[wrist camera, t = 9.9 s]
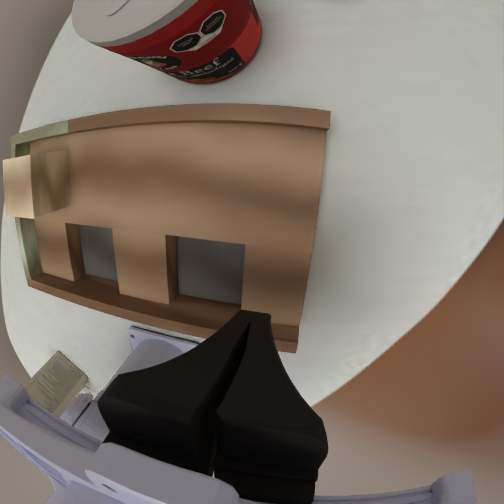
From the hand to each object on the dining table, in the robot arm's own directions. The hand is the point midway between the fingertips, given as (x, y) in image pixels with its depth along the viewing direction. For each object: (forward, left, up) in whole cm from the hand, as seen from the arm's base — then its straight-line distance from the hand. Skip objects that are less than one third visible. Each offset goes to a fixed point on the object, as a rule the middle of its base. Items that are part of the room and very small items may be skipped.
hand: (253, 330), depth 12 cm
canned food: (+16, +6, -10) cm, 20 cm away
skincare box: (-23, +28, -10) cm, 38 cm away
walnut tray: (+2, +12, -10) cm, 15 cm away
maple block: (+5, +20, -8) cm, 22 cm away
